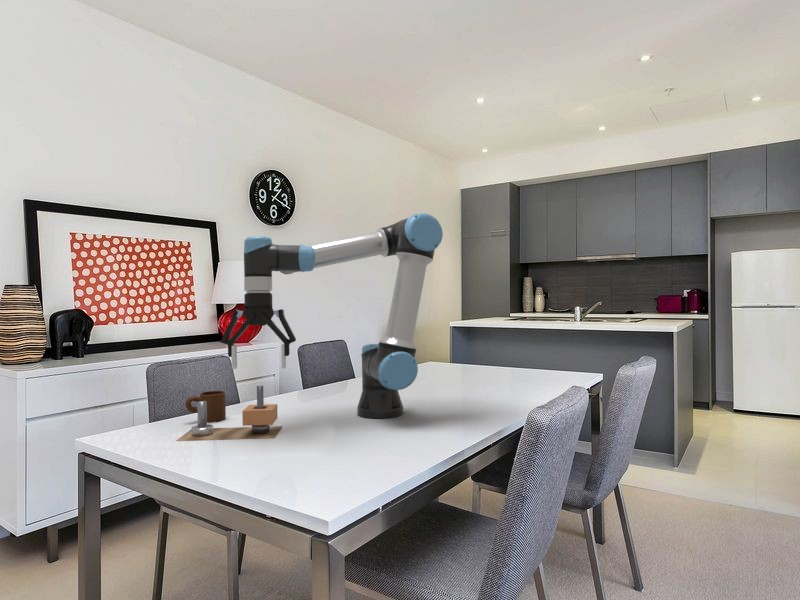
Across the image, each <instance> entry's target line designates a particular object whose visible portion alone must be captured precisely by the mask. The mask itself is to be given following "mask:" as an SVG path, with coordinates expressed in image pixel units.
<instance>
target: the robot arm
mask: <svg viewBox="0 0 800 600" xmlns="http://www.w3.org/2000/svg"><path fill="white" fill-rule="evenodd" d="M442 240H443V227H442V225H441V224H440V222H439V221H438V219H437V218H436V217H435V216H434V215H432V214H430V213H425V212H424V213H413V214H412V215H410V216H408V217H407V218H404V219H401V220H399V221H397V222H396V223H395V222H394V223H393V224H391V225H388V226H383V227H379V228H377V230H376V231H375V232H374V231H373V232H369V233H366V234H365V233H364V234H358V235H354V236H348V237H343V238H338V239H334V240H333V239H332V240H327V241H322V242H317V243H312V244H308V245H303V244H298V245H296V244H295V245H293V244H289V245H288V244H280V245H279V244H274V243H273V241H272V238H271V237H269V236H254V235H253V236H248V237H246V238H245V239H244V244H243V245H244V246H243V267H244V268H243V275H244V277H243V278H244V279H243V285H244V289H243V290H244V291H245V292H246V293H245V294H244V295H243V296H244V308H243V309H244V310H239V309H234V310H232V315H231V319H230V320H229V321H230V322H229V324H228V325H227V327H226V329H225V331H224V333H223V336H222V337H221V339H220V343H222V344H225V345H226V346H227V357H228V358H231V370H236V369H237V368H238V345H237V344H235V343H236V342H237V340H238V339H239V338H240V337H241V336H242V335H243V334H244V332H245V331H246V330H247V329H248V328H249V327H250V326H252V327H255V326H261V327H265V326H267V327H269V328H270V329H271V330H272V331H273V333H274V335H276V336H277V337H278V338H279V340H280V341H281V342H282V343H283V344H281V346H280V347H281V352H280V353H281V369H286V367H287V360H286V359H287V357H289V356H290V354H291V353H290V352H291V351H290V344H292V343H294V342H296V340H297V338H296V336H295V334H294V332H293V331H292V328H291V326H290V324H289V323H288V320H287V318H286V316H285V310H284V309H282V308H281V309H277V310H274V308H273V294H272V291H273V272H280V274H284V275H292V274H294V273H299V272H301V273H304V272H312V271H313V270H314V269H317V268H322V267H327V266H331V265H332V266H333V265H337V264H342V263H346V262H351V261H356V260H360V259H366V258H371V257H375V256H382V257H384V258H386V257H391V256H396V257H397V258H398V260H399V262H398V267H397V273H396V278H395V282H394V288H393V292H392V299H391V300H392V301H391V304H390V309H389V315H388V320H387V326H386V331H385V335H384V337H383V338H381V339H380V340H379V341H378V343H371V344H370V343H368V344H364V345H362V348H361V354H360V355H361V378H362V379H361V381H362V382H361V383H362V386H361V387H362V390H361V395H360V398H359V401H358V405H357V407H356V408H357V409H356V410H357V411H356V413H357V415H358V416H359V417H363V418H369V419H389V418H395V417H399V416H402V415H403V414H404V406H403V405H404V404H403V402H402V400H401V399H402V398H401V395H400V394H399V391H402V390H405V389H406V388H408V387H409V386H411V385H412V384H413V383H414V381H416V379H417V376H418V372H419V367H418V363H417V360H416V354H417V353H416V352H417V346H416V345H415V343H414V336H415V330H416V325H417V320H418V315H419V309H420V304H421V298H422V294H423V287H424V283H425V277H426V272H427V266H428V265H429V264H431V263H432V262H433V260H434V254H435V250H436V249H437V248H438V247H439V245H440V244H441V243H442ZM242 315H243V317H244V318H245V321H244V322H243V323H242V325H240V327H239V329H237V330H236V332H235V333H234V334H233V335H232V336H231V334H232V333H233V330H234V329H235V327H236V324H238V323H237V322H238V321H239V319H240V318H241V317H242ZM274 316H275V317H277V318H278V319H279V321H280V323H281V325H282V327H283V329H284V331H285V333H286V334H287V336H286V335H285V334H284V333H283V332H282V331H281V329H280V328H279V327H278V326H277V325H276V323H275V322H274V321H273V320H272V318H273V317H274ZM230 337H231V338H230ZM287 337H288V338H287Z"/></svg>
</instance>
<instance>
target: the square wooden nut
mask: <svg viewBox="0 0 800 600" xmlns="http://www.w3.org/2000/svg"><path fill="white" fill-rule="evenodd" d="M241 415H242V426H243V427H249V426H252V425H269V426H274V423H275V422H276V421H277V419H278V404H277V403H275V404H274V403H270V404H267V403H266V404H264V409H257V404H248V405H247V406H246V407H245V408H243V410H242V412H241Z"/></svg>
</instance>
